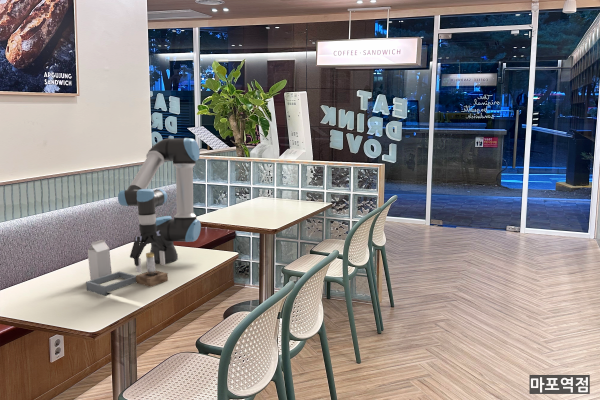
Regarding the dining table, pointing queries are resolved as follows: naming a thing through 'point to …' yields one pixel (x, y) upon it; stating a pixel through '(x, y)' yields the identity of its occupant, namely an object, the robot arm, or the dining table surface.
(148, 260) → the small bottle
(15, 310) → the dining table surface
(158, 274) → the block
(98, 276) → the milk carton
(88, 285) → the tray
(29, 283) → the dining table surface
